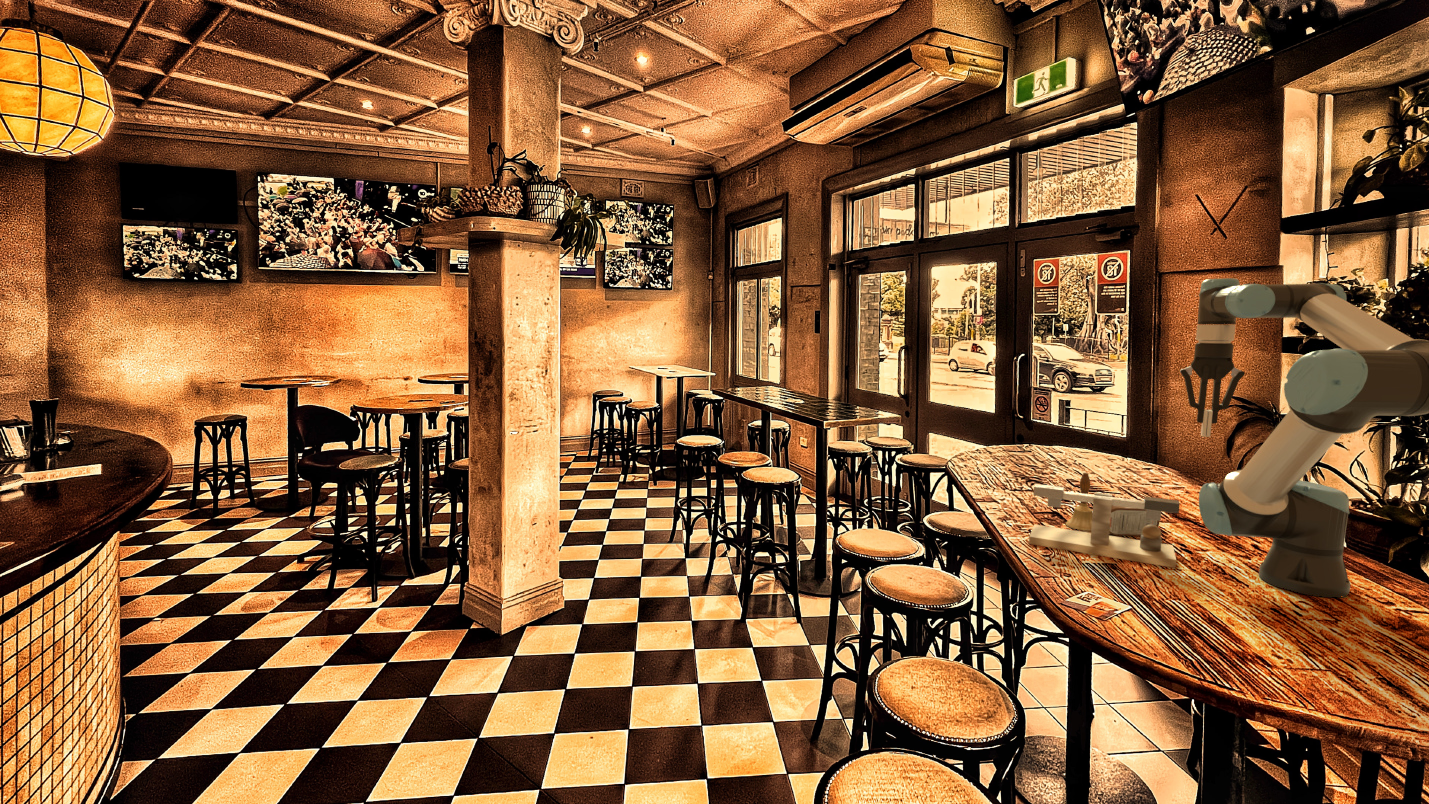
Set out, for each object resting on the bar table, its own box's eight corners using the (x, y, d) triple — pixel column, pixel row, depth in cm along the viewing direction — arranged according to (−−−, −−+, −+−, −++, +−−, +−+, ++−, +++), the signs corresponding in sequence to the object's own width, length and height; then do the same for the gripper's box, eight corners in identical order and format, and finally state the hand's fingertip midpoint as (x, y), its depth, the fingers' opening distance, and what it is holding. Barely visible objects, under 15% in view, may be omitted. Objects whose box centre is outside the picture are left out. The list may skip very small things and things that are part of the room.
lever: (1176, 519, 159) (1178, 500, 158) (1177, 523, 156) (1179, 503, 155) (1034, 501, 176) (1035, 483, 175) (1032, 504, 173) (1033, 486, 172)
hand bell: (1103, 532, 180) (1107, 477, 178) (1071, 530, 182) (1075, 475, 180) (1092, 523, 188) (1096, 470, 186) (1061, 521, 190) (1065, 469, 188)
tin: (1153, 534, 178) (1156, 504, 177) (1160, 537, 175) (1162, 508, 174) (1097, 532, 180) (1099, 503, 179) (1102, 536, 177) (1104, 506, 176)
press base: (1172, 552, 164) (1176, 499, 162) (1175, 567, 154) (1180, 511, 152) (1033, 531, 181) (1036, 483, 179) (1028, 543, 171) (1032, 492, 169)
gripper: (1246, 342, 157) (1236, 436, 160) (1180, 341, 164) (1172, 431, 167) (1251, 342, 151) (1241, 440, 154) (1182, 342, 158) (1174, 435, 161)
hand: (1205, 435), depth 161 cm, fingers closed
